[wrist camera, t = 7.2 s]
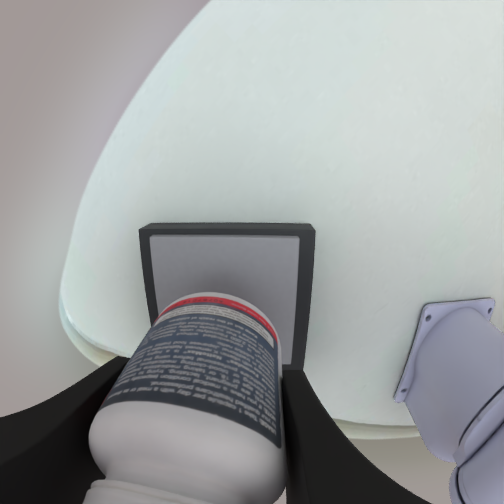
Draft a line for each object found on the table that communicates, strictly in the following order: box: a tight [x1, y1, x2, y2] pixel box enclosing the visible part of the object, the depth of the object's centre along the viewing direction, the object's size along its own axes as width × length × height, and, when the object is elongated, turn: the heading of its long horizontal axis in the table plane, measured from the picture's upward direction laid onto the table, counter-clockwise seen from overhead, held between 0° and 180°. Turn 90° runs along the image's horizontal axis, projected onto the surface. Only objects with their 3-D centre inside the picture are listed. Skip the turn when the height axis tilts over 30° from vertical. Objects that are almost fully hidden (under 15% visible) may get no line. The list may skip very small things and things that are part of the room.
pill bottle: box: [83, 292, 287, 504], centre depth 7 cm, size 5×5×9 cm
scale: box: [139, 223, 316, 376], centre depth 17 cm, size 10×10×3 cm
